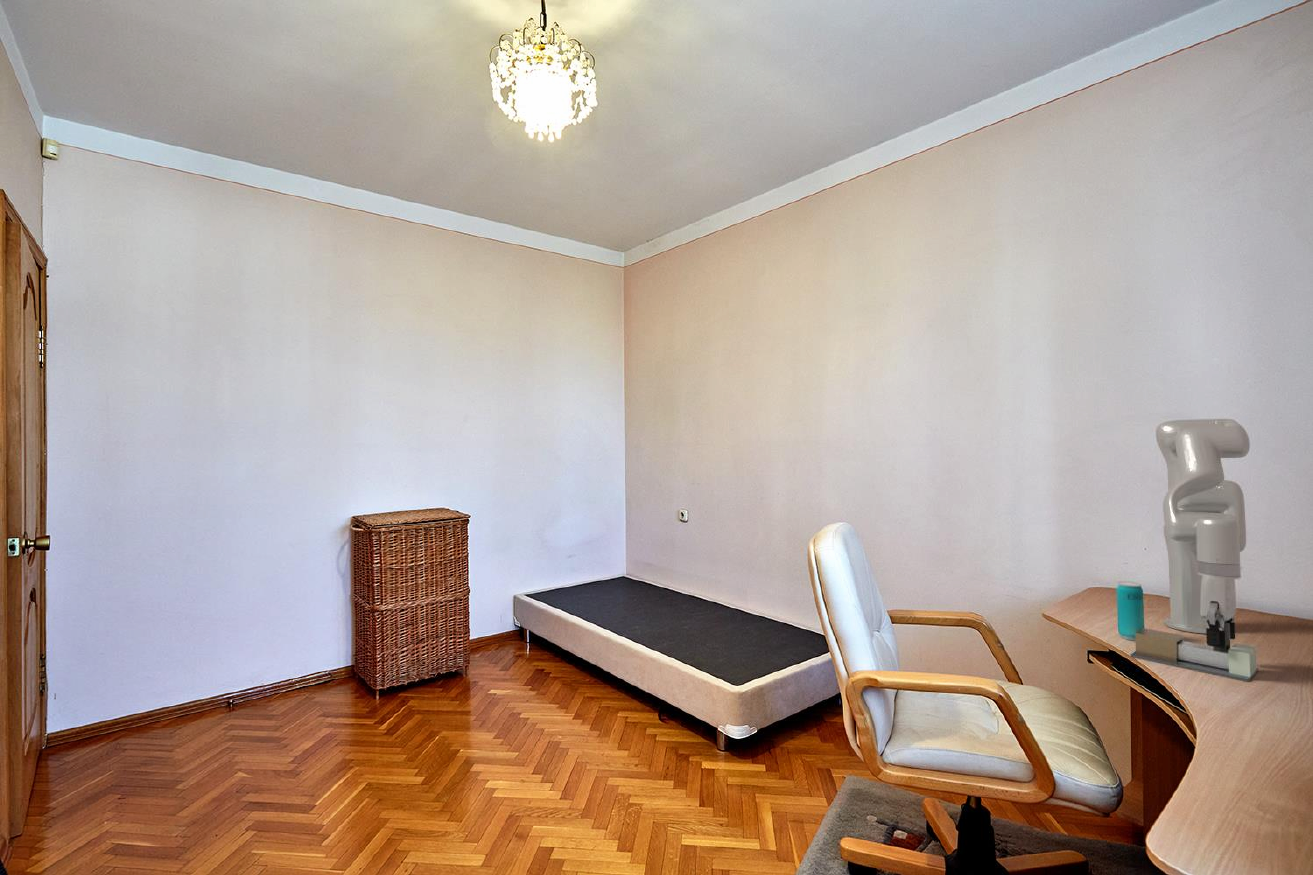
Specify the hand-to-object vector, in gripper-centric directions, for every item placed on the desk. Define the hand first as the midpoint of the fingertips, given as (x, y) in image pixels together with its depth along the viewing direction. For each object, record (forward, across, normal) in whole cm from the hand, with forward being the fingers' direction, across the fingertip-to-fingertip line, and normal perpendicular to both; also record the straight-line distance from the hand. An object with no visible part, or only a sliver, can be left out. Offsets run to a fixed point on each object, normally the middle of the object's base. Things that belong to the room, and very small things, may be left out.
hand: (1221, 642), depth 144 cm
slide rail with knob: (+6, 0, -5) cm, 8 cm away
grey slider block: (+6, 0, -3) cm, 7 cm away
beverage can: (+7, -12, -21) cm, 25 cm away
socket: (+6, 0, +4) cm, 7 cm away
